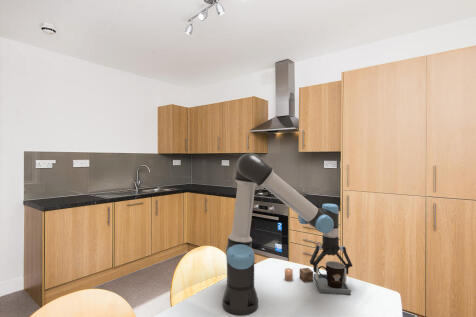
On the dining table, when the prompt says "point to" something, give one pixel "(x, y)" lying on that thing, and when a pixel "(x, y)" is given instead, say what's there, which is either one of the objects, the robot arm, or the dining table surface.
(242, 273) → the robot arm
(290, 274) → the terracotta cylinder
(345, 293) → the tray
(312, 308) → the dining table surface
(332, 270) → the coffee mug
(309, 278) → the walnut block
